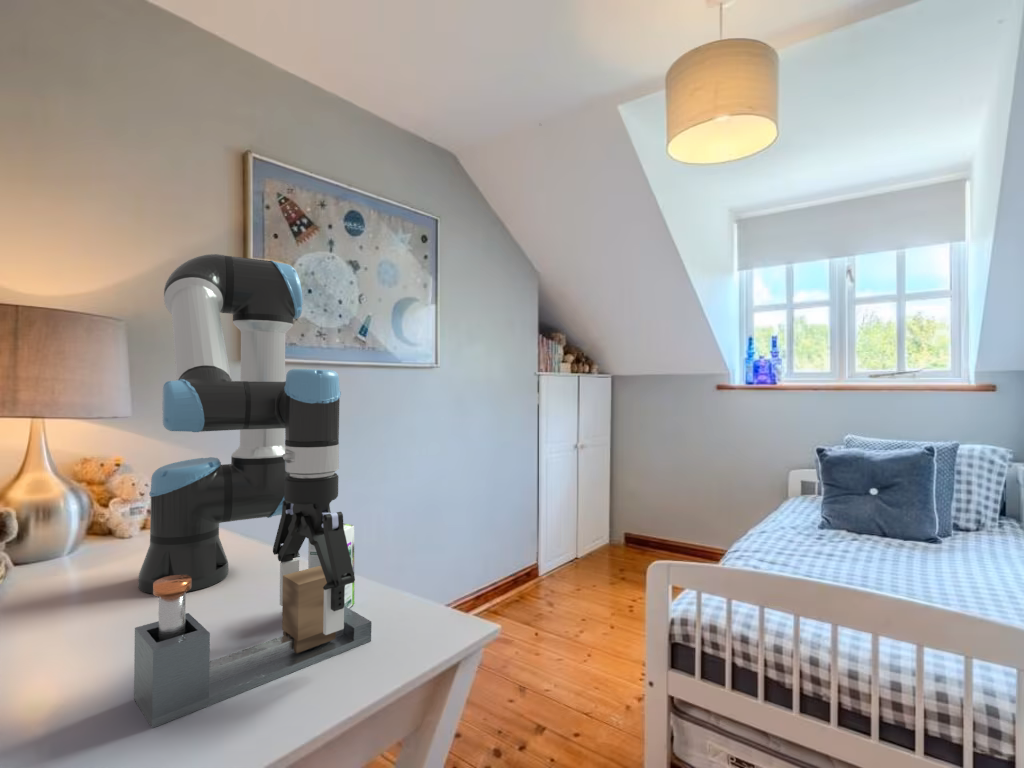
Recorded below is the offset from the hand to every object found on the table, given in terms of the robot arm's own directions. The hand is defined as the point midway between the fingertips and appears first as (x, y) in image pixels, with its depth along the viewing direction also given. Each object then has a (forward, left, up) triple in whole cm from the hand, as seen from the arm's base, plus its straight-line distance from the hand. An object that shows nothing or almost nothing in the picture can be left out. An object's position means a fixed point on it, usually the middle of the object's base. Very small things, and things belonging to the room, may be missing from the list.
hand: (310, 616), depth 80 cm
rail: (0, -6, -5) cm, 8 cm away
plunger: (0, -18, 0) cm, 18 cm away
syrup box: (-11, +9, -5) cm, 15 cm away
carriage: (0, 0, -4) cm, 4 cm away
